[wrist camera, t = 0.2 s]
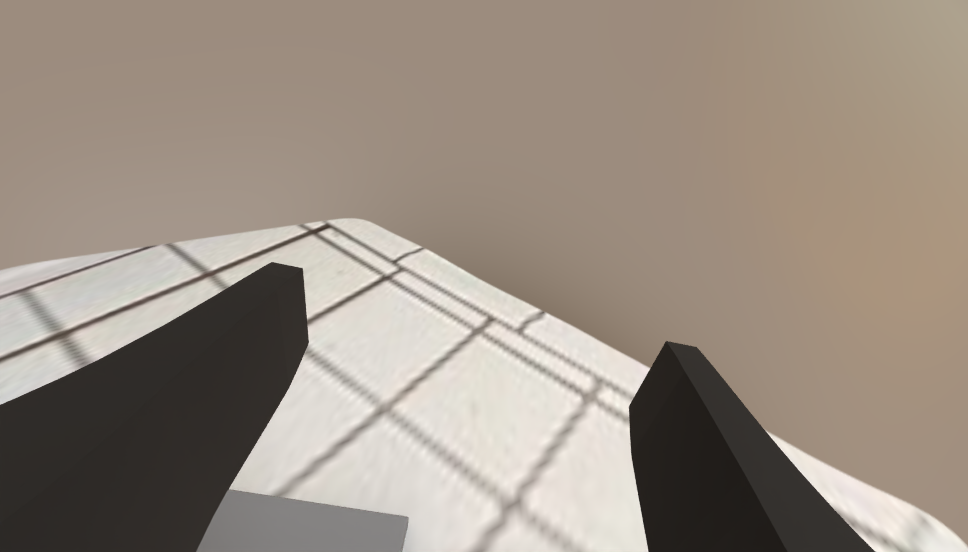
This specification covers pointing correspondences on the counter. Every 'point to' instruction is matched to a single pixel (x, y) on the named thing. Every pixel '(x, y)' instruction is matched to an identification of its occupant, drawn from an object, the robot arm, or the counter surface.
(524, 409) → the counter surface
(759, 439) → the robot arm
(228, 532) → the slate mat
